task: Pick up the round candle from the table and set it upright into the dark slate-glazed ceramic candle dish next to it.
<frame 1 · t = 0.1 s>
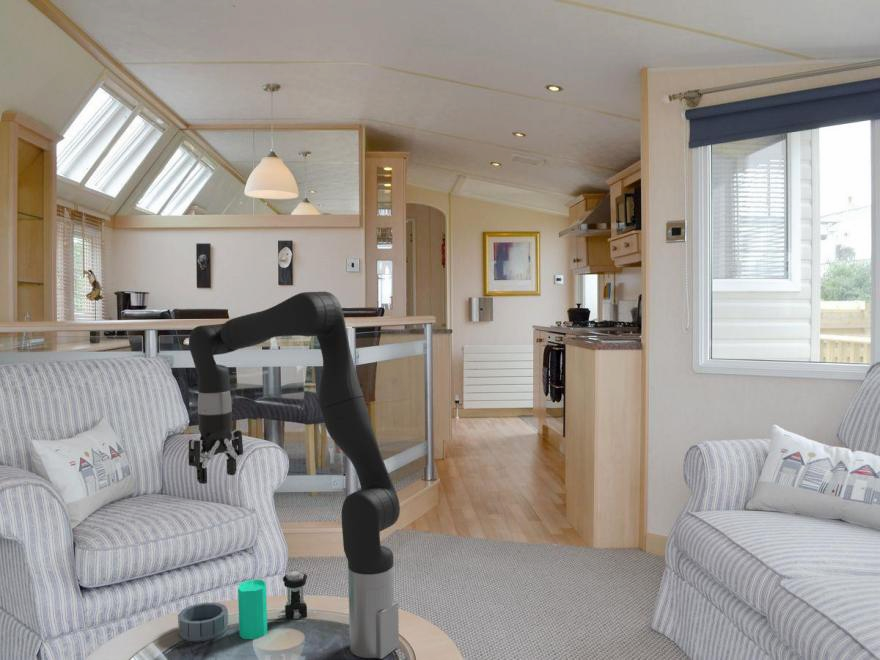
hand: (217, 478, 176), 29 cm above the table, tool pointing down, fingers open, 8 cm apart
candle dish: (203, 630, 163), on the table
push button: (293, 617, 169), on the table
candle: (253, 633, 162), on the table
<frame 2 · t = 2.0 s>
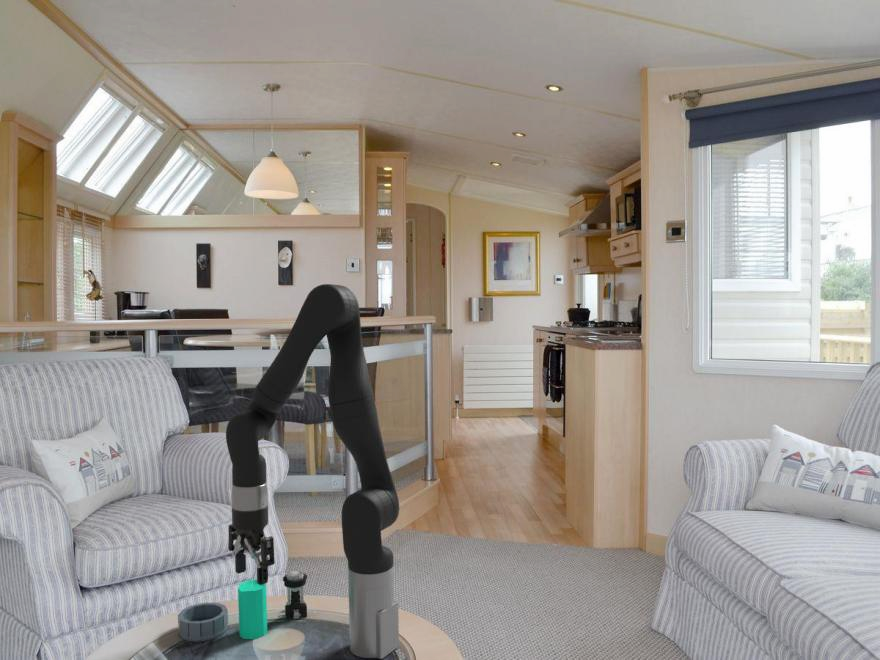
hand: (251, 577, 161), 12 cm above the table, tool pointing down, fingers open, 8 cm apart
nothing on the table moved.
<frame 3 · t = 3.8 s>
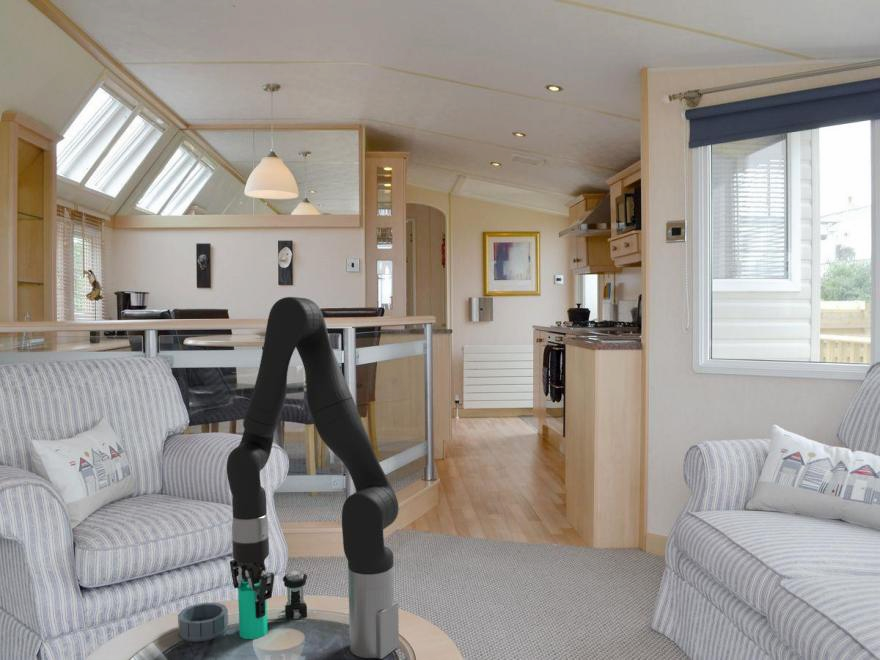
hand: (252, 612, 162), 4 cm above the table, tool pointing down, fingers closed on candle, 4 cm apart
candle: (253, 633, 162), on the table, touching gripper
everything else where it was.
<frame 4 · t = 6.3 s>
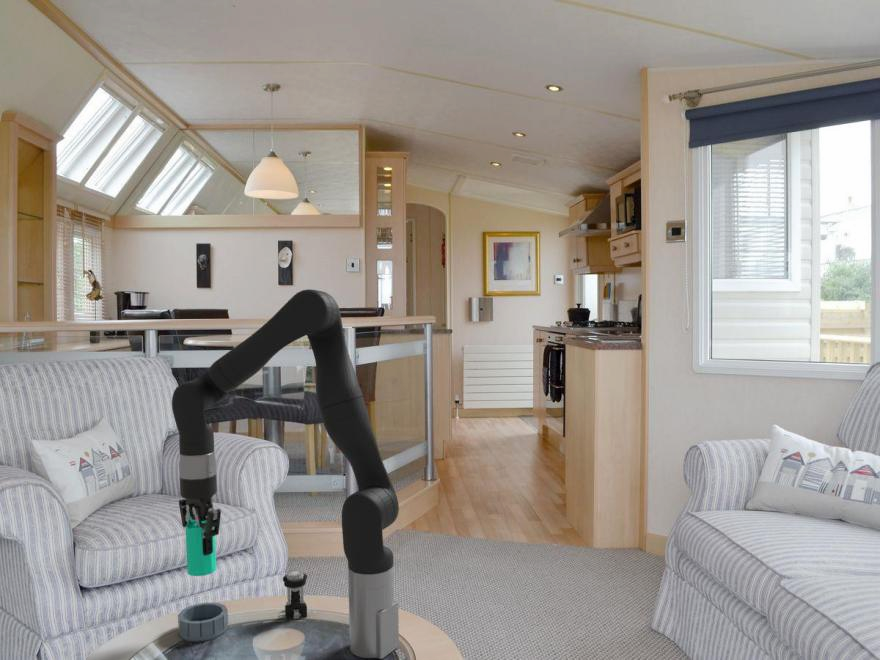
hand: (201, 550, 162), 18 cm above the table, tool pointing down, fingers closed on candle, 4 cm apart
candle: (202, 571, 162), point 13 cm above the table, touching gripper
everything else where it was.
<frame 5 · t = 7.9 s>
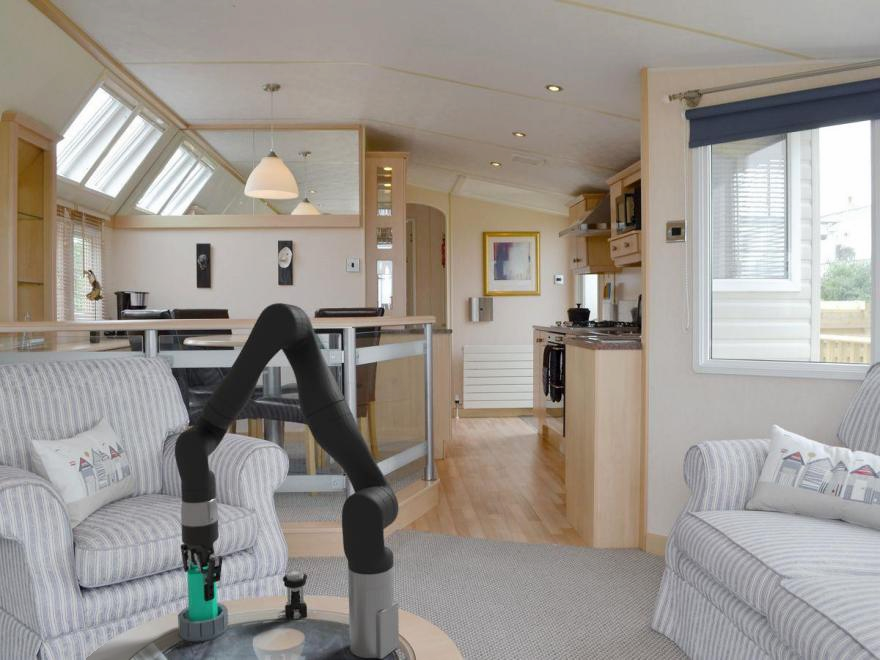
hand: (202, 595, 163), 8 cm above the table, tool pointing down, fingers closed on candle, 4 cm apart
candle: (203, 616, 163), point 3 cm above the table, touching gripper
everything else where it was.
when the fingers open (6 cm above the table, at t = 9.1 s): candle stays where it is, resting on candle dish.
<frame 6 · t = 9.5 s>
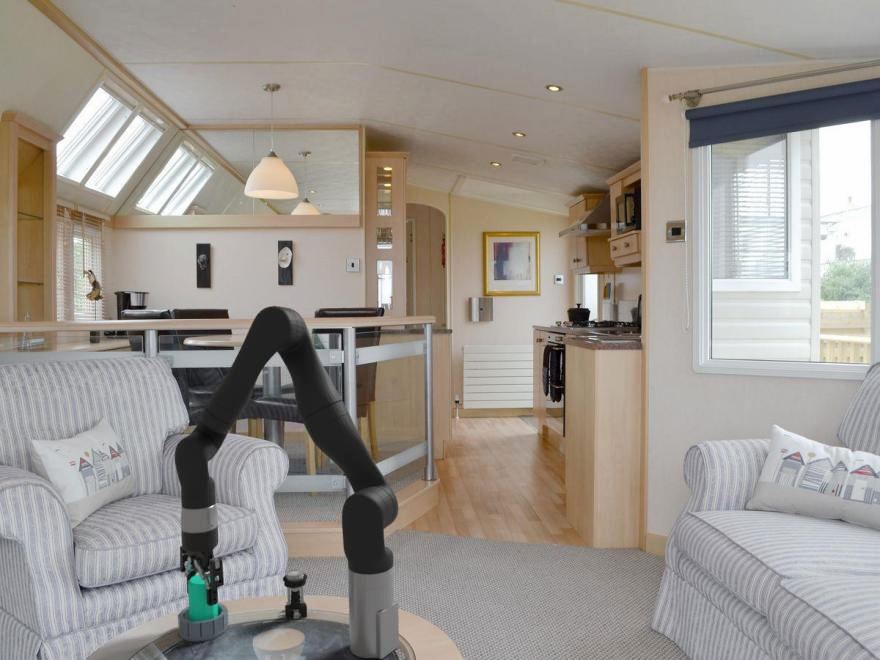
hand: (202, 598, 163), 7 cm above the table, tool pointing down, fingers open, 8 cm apart
candle: (204, 626, 163), point 1 cm above the table, touching candle dish
everything else where it was.
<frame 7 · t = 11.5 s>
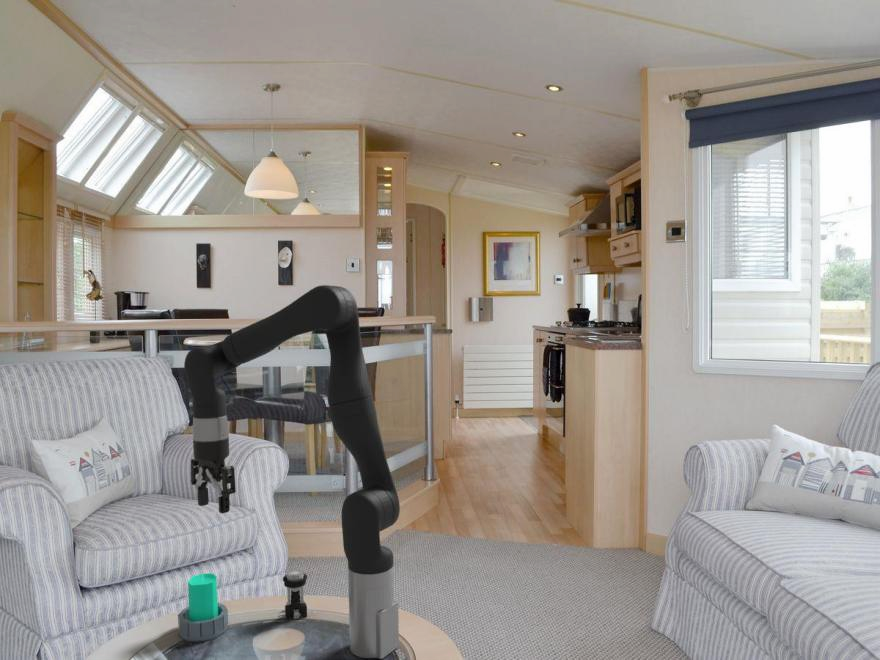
hand: (213, 508, 167), 25 cm above the table, tool pointing down, fingers open, 8 cm apart
nothing on the table moved.
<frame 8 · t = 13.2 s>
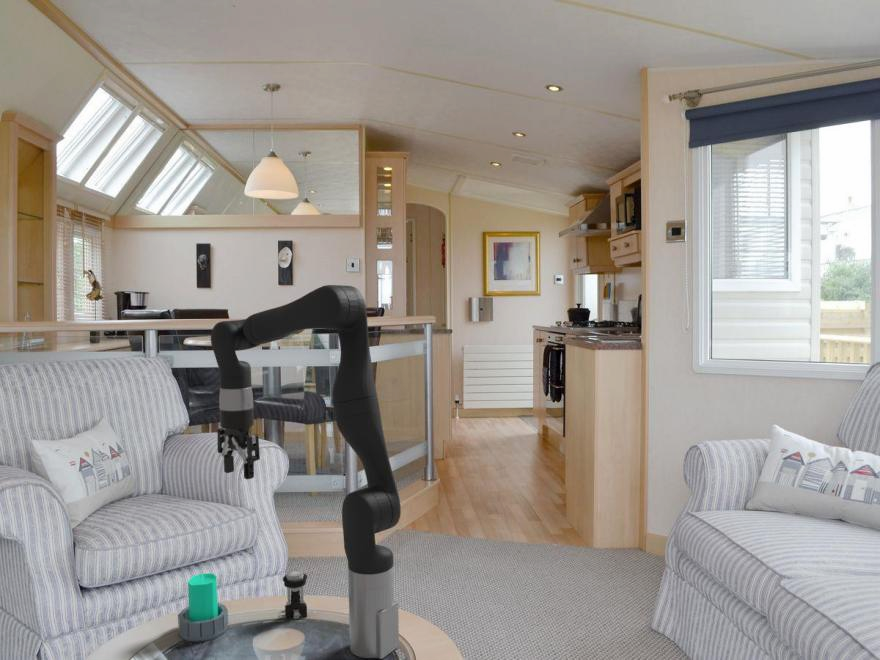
hand: (238, 475, 176), 30 cm above the table, tool pointing down, fingers open, 8 cm apart
nothing on the table moved.
at the end: candle 0.2 cm off-centre on the candle dish, point 0.8 cm above the candle dish's base; candle tilted 0°; the gripper is holding nothing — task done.
